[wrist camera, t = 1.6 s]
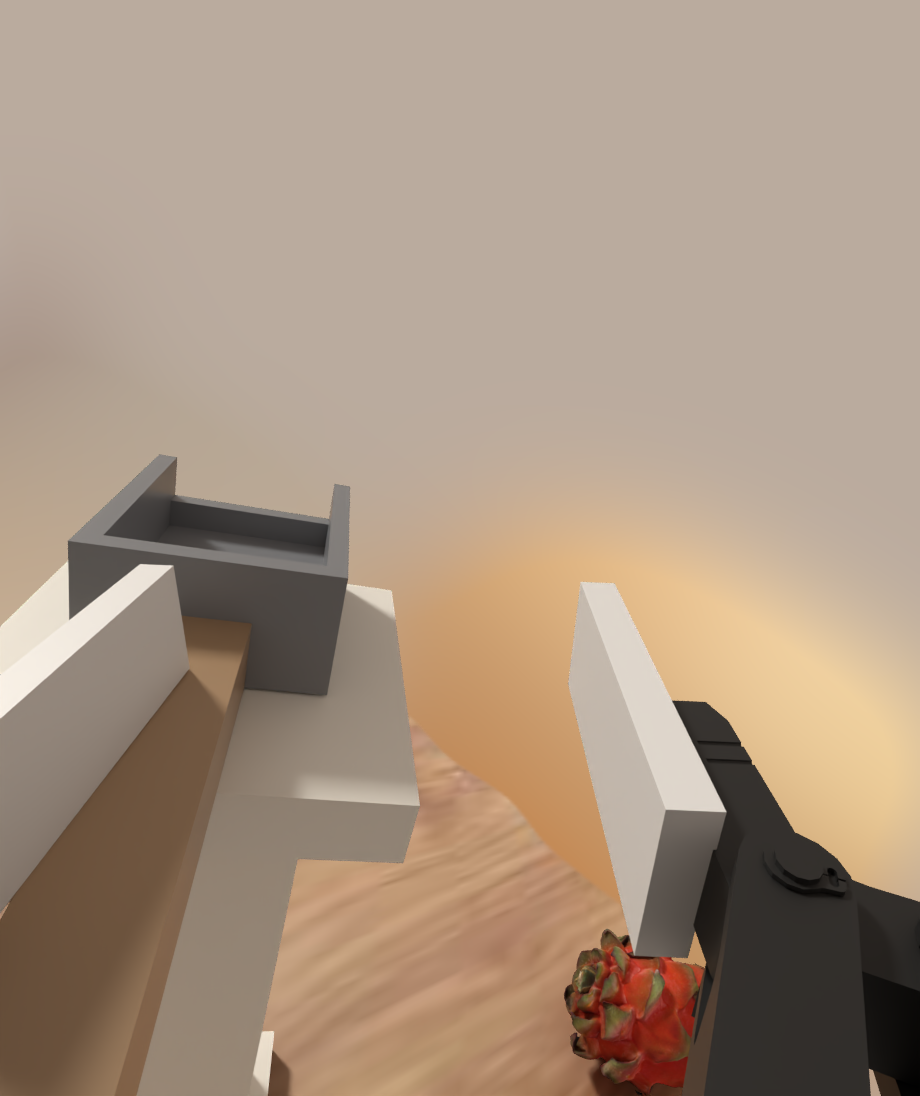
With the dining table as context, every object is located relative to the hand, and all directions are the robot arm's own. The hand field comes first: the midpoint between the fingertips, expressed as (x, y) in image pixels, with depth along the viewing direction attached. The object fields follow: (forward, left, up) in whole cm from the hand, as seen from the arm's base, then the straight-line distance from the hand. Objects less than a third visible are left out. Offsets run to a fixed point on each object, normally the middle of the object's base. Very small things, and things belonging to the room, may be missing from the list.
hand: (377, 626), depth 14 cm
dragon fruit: (+26, -3, -35) cm, 44 cm away
